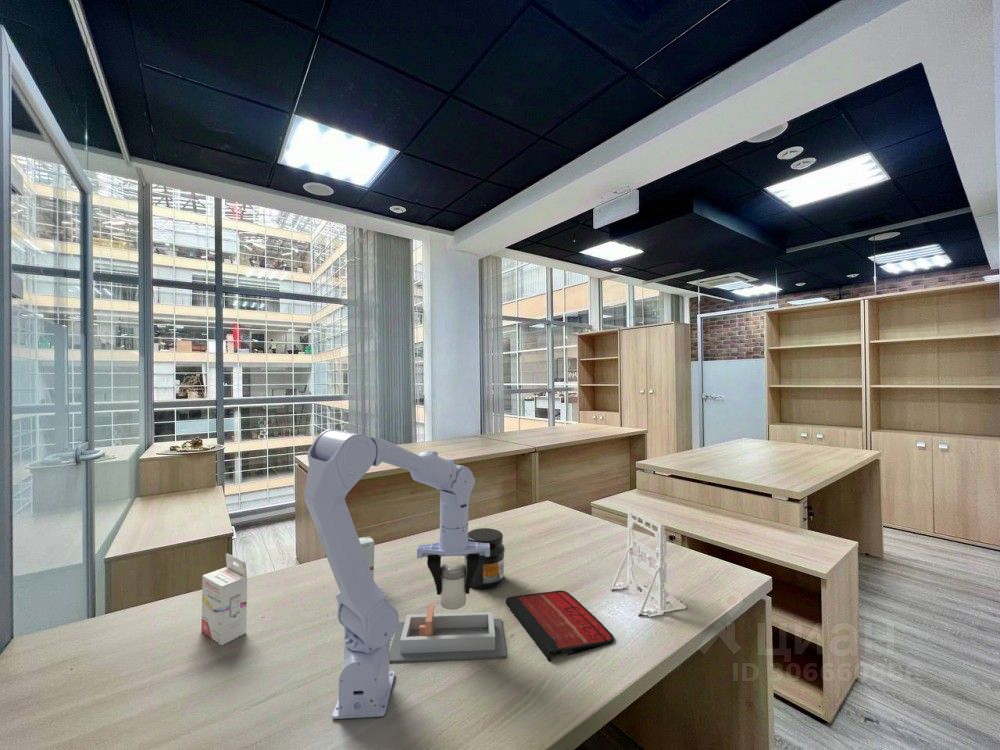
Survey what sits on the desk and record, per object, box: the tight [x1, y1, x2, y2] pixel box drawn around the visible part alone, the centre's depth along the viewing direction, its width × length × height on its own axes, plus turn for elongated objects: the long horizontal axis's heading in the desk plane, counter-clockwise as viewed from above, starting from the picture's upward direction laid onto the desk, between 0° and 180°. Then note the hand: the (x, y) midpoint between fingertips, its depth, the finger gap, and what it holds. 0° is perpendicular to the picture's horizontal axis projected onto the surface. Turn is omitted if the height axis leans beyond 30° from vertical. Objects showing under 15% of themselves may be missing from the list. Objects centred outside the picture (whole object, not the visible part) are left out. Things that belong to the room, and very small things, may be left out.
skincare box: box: [358, 536, 375, 579], centre depth 101 cm, size 6×4×12 cm
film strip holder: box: [611, 507, 667, 615], centre depth 99 cm, size 14×14×20 cm
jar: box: [440, 561, 467, 610], centre depth 83 cm, size 5×5×7 cm
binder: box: [505, 590, 615, 662], centre depth 89 cm, size 16×2×21 cm
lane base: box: [389, 611, 507, 664], centre depth 82 cm, size 12×22×3 cm, turn 94°
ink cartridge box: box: [200, 552, 248, 646], centre depth 84 cm, size 9×5×15 cm, turn 59°
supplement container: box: [464, 527, 506, 590], centre depth 107 cm, size 10×10×12 cm
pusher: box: [419, 604, 435, 636], centre depth 82 cm, size 6×3×5 cm, turn 4°
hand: (453, 591), depth 83 cm, fingers closed on jar, 5 cm apart
